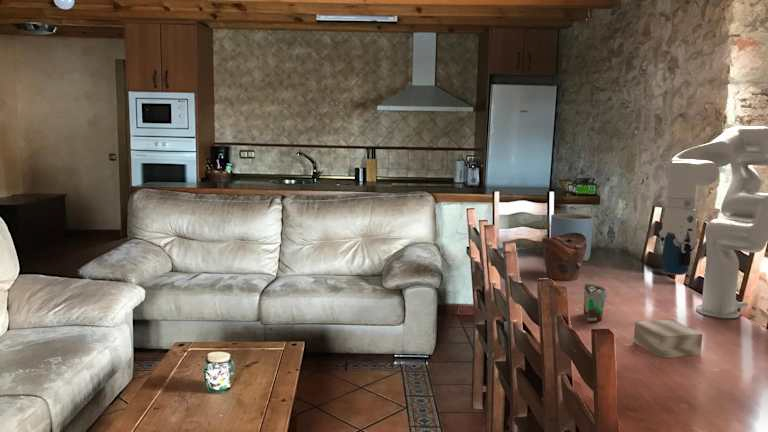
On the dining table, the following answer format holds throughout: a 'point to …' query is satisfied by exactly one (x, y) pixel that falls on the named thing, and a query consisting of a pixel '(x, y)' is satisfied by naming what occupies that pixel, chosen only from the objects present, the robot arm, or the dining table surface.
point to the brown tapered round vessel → (564, 255)
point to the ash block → (667, 338)
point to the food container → (594, 302)
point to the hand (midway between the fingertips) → (675, 262)
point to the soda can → (672, 256)
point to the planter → (573, 227)
